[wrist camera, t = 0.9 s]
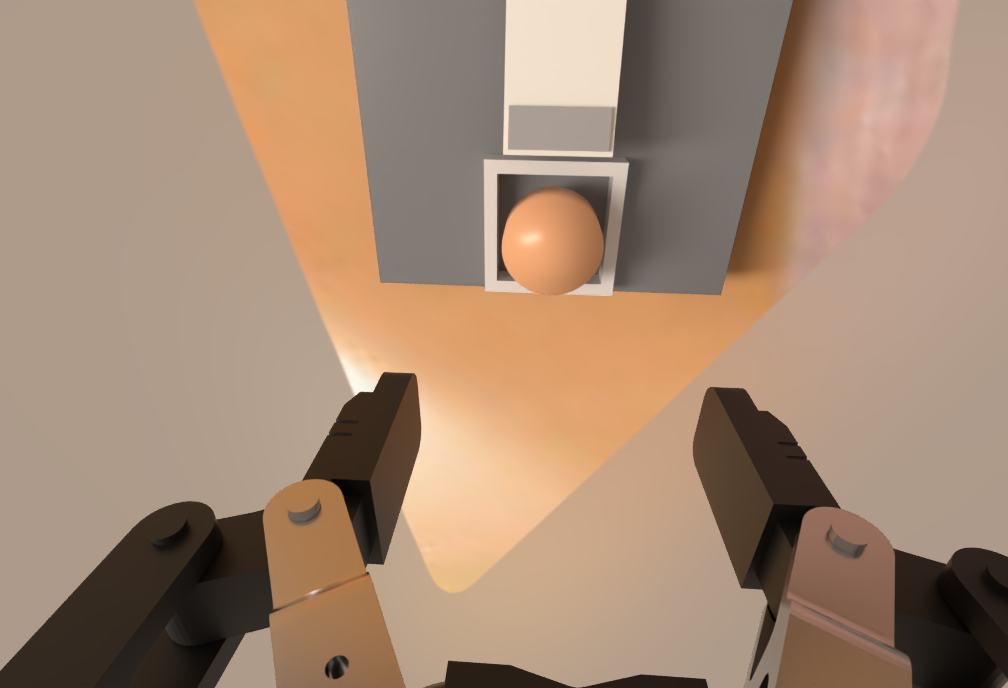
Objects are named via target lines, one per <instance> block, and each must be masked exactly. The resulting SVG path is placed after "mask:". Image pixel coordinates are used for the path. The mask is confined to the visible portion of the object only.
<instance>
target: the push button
mask: <svg viewBox="0 0 1008 688" xmlns="http://www.w3.org/2000/svg"><path fill="white" fill-rule="evenodd" d="M603 251H604V241H603V235H602V231H601V228H600V224H599V221H598V218H597V215H596V213H595V211H594V209H593V207H592V206H591V205H590V203H589V202H588V201H587V200H586V199H585V198H584V197H583V196H581V195H580V194H578V193H577V192H575V191H573V190H570V189H568V188H563V187H556V186H550V187H543V188H539V189H536V190H534V191H532V192H529V193H528V194H526V195H525V196H523V197H522V198H521V199H520V200H519V201H518V202H517V203H516V204H515V205H514V207H513V208H512V210H511V212H510V213H509V215H508V218H507V221H506V225H505V230H504V234H503V239H502V256H503V261H504V263H505V266H506V268H507V270H508V272H509V273H510V275H511V276H512V277H513V279H514V280H515V281H516V282H517V283H519V284H520V285H521V286H523V287H524V288H526V289H528V290H530V291H532V292H535V293H538V294H542V295H561V294H565V293H569V292H571V291H574V290H576V289H578V288H579V287H581V286H582V285H584V284H585V283H586V282H587V281H588V280H590V279H591V277H592V276H593V275H594V274H595V272H596V271H597V269H598V267H599V265H600V263H601V260H602V256H603Z"/></svg>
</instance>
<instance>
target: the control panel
mask: <svg viewBox="0 0 1008 688" xmlns="http://www.w3.org/2000/svg"><path fill="white" fill-rule="evenodd" d="M792 3H793V0H627V2H626V14H625V25H624V36H623V47H622V58H621V70H620V81H619V92H618V103H617V114H616V125H615V137H614V148H613V157H575V156H532V155H503V134H504V84H505V34H506V0H347V8H348V17H349V25H350V33H351V42H352V50H353V58H354V67H355V75H356V83H357V92H358V100H359V108H360V117H361V125H362V133H363V141H364V150H365V158H366V166H367V175H368V183H369V191H370V200H371V208H372V216H373V225H374V233H375V241H376V250H377V258H378V266H379V275H380V282H383V283H410V284H437V285H464V286H485V291H493V292H519V293H535V292H532V291H530V290H528V289H526V288H524V287H523V286H521V285H520V284H519V283H517V282H516V281H515V280H514V279H513V277H512V276H511V275H510V273H509V272H508V270H507V268H506V266H505V263H504V261H503V256H502V239H503V234H504V230H505V225H506V221H507V218H508V215H509V213H510V212H511V210H512V208H513V207H514V205H515V204H516V203H517V202H518V201H519V200H520V199H521V198H522V197H523V196H525V195H526V194H528V193H529V192H532V191H534V190H536V189H539V188H543V187H550V186H556V187H563V188H568V189H570V190H573V191H575V192H577V193H578V194H580V195H581V196H583V197H584V198H585V199H586V200H587V201H588V202H589V203H590V205H591V206H592V207H593V209H594V211H595V213H596V215H597V218H598V221H599V224H600V228H601V231H602V235H603V241H604V251H603V256H602V260H601V263H600V265H599V267H598V269H597V271H596V272H595V274H594V275H593V276H592V277H591V279H590V280H588V281H587V282H586V283H585V284H584V285H582V286H581V287H579V288H578V289H576V290H574V291H571V292H569V293H565V294H572V295H598V296H612V292H613V291H625V292H652V293H678V294H705V295H721V293H722V289H723V285H724V281H725V277H726V272H727V268H728V264H729V260H730V256H731V252H732V248H733V244H734V240H735V236H736V232H737V227H738V223H739V219H740V215H741V211H742V207H743V203H744V199H745V195H746V191H747V187H748V182H749V178H750V174H751V170H752V166H753V162H754V158H755V154H756V150H757V146H758V142H759V137H760V133H761V129H762V125H763V121H764V117H765V113H766V109H767V105H768V101H769V97H770V93H771V88H772V84H773V80H774V76H775V72H776V68H777V64H778V60H779V56H780V52H781V48H782V43H783V39H784V35H785V31H786V27H787V23H788V19H789V15H790V11H791V7H792Z"/></svg>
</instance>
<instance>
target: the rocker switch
mask: <svg viewBox="0 0 1008 688" xmlns="http://www.w3.org/2000/svg"><path fill="white" fill-rule="evenodd" d="M626 2H627V0H506V34H505V84H504V134H503V155H532V156H575V157H613V148H614V137H615V125H616V114H617V103H618V92H619V81H620V70H621V58H622V47H623V36H624V25H625V14H626Z"/></svg>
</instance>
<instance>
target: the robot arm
mask: <svg viewBox="0 0 1008 688" xmlns="http://www.w3.org/2000/svg"><path fill="white" fill-rule="evenodd" d="M420 440H421V418H420V407H419V396H418V384H417V377H416V375H415V374H414V373H391V372H384V373H383V374H382V375H381V377H380V379H379V381H378V383H377V385H376V387H375V390H374V392H360V393H358V394H357V395H356V396H355V397H353V398H352V399H351V400H350V401H348V402H347V403H346V404H345V405H344V407H343V408H342V410H341V412H340V414H339V416H338V417H337V419H336V423H334V425H333V426H332V428H331V430H330V432H329V435H328V436H327V437H326V439H325V441H324V442H323V444H322V446H321V448H320V450H319V451H318V453H317V455H316V457H315V459H314V460H313V462H312V464H311V466H310V468H309V469H308V471H307V473H306V475H305V477H304V478H303V480H302V481H301V482H297V483H295V484H292V485H290V486H288V487H286V488H284V489H283V490H281V491H279V492H278V493H277V494H276V495H275V496H274V497H273V498H272V499H271V500H270V501H269V502H268V504H267V506H266V508H265V509H264V510H261V511H257V512H253V513H248V514H243V515H238V516H233V517H228V518H222V519H218V520H216V518H215V515H214V512H213V510H212V509H211V508H210V507H209V506H208V505H206V504H203V503H200V502H192V501H191V502H190V501H188V502H180V503H175V504H172V505H169V506H166V507H164V508H161V509H159V510H157V511H155V512H153V513H152V514H150V515H148V516H147V517H145V518H144V519H143V520H141V521H140V522H139V523H138V524H137V525H136V526H135V527H133V528H132V530H131V531H130V532H129V533H128V534H127V535H126V536H125V537H124V538H123V539H122V540H121V542H120V543H119V544H118V545H117V546H116V547H115V548H114V549H113V550H112V551H111V552H110V553H109V554H108V556H107V557H106V558H105V559H104V560H103V561H102V562H101V563H100V564H99V565H98V566H97V567H96V568H95V569H94V571H93V572H92V573H91V574H90V575H89V576H88V577H87V578H86V579H85V580H84V581H83V582H82V583H81V585H80V586H79V587H78V588H77V589H76V590H75V591H74V592H73V593H72V594H71V595H70V596H69V597H68V599H67V600H66V601H65V602H64V603H63V604H62V605H61V606H60V607H59V608H58V609H57V610H56V611H55V613H54V614H53V615H52V616H51V617H50V618H49V619H48V620H47V621H46V622H45V624H44V625H43V626H42V627H41V628H40V629H39V630H38V631H37V632H36V633H35V634H34V635H33V636H32V637H31V639H29V641H28V642H27V643H26V644H25V645H24V646H23V647H22V648H21V649H20V650H19V651H18V652H17V654H16V655H15V656H14V657H13V658H12V659H11V660H10V661H9V662H8V663H7V664H6V665H5V666H4V668H3V669H2V670H1V671H0V688H215V686H216V684H217V682H218V681H219V679H220V677H221V676H222V674H223V672H224V670H225V669H226V667H227V665H228V663H229V661H230V660H231V658H232V656H233V655H234V653H235V651H236V649H237V647H238V646H239V644H240V642H241V640H242V639H243V637H244V635H245V633H248V632H253V631H256V630H261V629H264V628H268V627H270V631H271V640H272V649H273V659H274V667H275V676H276V685H277V688H406V687H405V684H404V681H403V678H402V674H401V671H400V668H399V665H398V662H397V658H396V655H395V652H394V649H393V646H392V643H391V639H390V636H389V633H388V630H387V627H386V623H385V620H384V617H383V614H382V611H381V607H380V604H379V601H378V598H377V595H376V591H375V589H374V585H373V582H372V579H371V576H370V574H369V572H366V566H367V564H384V561H385V559H386V555H387V552H388V549H389V545H390V542H391V539H392V536H393V532H394V529H395V526H396V523H397V519H398V516H399V513H400V510H401V506H402V503H403V500H404V496H405V493H406V490H407V487H408V483H409V480H410V477H411V474H412V470H413V467H414V464H415V460H416V457H417V454H418V451H419V446H420ZM797 444H798V443H797V441H796V440H795V438H794V437H793V435H792V433H791V432H790V431H789V429H788V427H787V426H786V425H785V424H783V423H782V422H781V421H779V420H778V419H777V418H776V417H775V416H773V415H772V414H771V413H769V412H768V411H758V410H757V408H756V406H755V405H754V403H753V401H752V399H751V398H750V396H749V394H748V393H747V392H746V390H745V389H743V388H741V389H740V388H720V387H719V388H718V387H710V388H708V389H707V391H706V393H705V396H704V400H703V404H702V408H701V412H700V416H699V420H698V424H697V428H696V432H695V436H694V441H693V457H694V463H695V466H696V469H697V471H698V474H699V477H700V479H701V482H702V485H703V488H704V490H705V493H706V496H707V498H708V501H709V504H710V506H711V509H712V512H713V514H714V517H715V520H716V522H717V525H718V528H719V530H720V533H721V536H722V538H723V541H724V544H725V546H726V549H727V552H728V554H729V557H730V560H731V562H732V565H733V568H734V570H735V573H736V576H737V579H738V581H739V584H740V586H741V588H747V589H762V590H763V592H764V594H765V596H766V599H767V603H766V605H765V607H764V610H763V612H762V616H761V620H760V624H759V629H758V632H757V636H756V641H755V645H754V648H753V653H752V657H751V661H750V665H749V669H748V673H747V677H746V681H745V685H744V688H1002V687H1003V686H1004V685H1005V683H1007V681H1008V557H1007V556H1004V555H1002V554H999V553H996V552H993V551H990V550H985V549H981V548H963V549H960V550H958V551H956V552H955V553H954V554H953V556H952V557H951V559H950V560H949V562H948V563H947V564H944V563H940V562H936V561H933V560H930V559H926V558H923V557H920V556H916V555H913V554H909V553H906V552H903V551H900V550H896V549H894V548H893V547H892V545H891V544H890V542H889V540H888V539H887V538H886V536H885V535H884V534H883V533H882V532H881V531H880V530H879V529H878V528H876V527H875V526H874V525H873V524H871V523H870V522H868V521H867V520H865V519H863V518H861V517H860V516H858V515H856V514H853V513H851V512H848V511H846V510H843V509H841V508H840V507H839V505H838V503H837V502H836V500H835V499H834V497H833V496H832V494H831V493H830V491H829V490H828V488H827V487H826V485H825V484H824V482H823V481H822V479H821V478H820V476H819V475H818V473H817V472H816V470H815V469H814V467H813V466H812V464H811V462H810V461H809V460H807V459H806V458H807V457H806V455H805V453H804V452H803V450H802V449H801V447H800V446H798V445H797ZM425 688H575V687H571V686H567V685H565V684H562V683H559V682H556V681H553V680H550V679H547V678H545V677H542V676H539V675H536V674H534V673H531V672H528V671H525V670H522V669H519V668H517V667H514V666H511V665H500V664H486V663H472V662H458V661H448V666H447V672H446V678H445V682H440V683H436V684H432V685H430V686H427V687H425ZM581 688H708V686H707V682H706V679H696V678H684V677H670V676H655V675H637V676H632V677H628V678H623V679H619V680H614V681H609V682H605V683H600V684H596V685H592V686H587V687H581Z"/></svg>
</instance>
